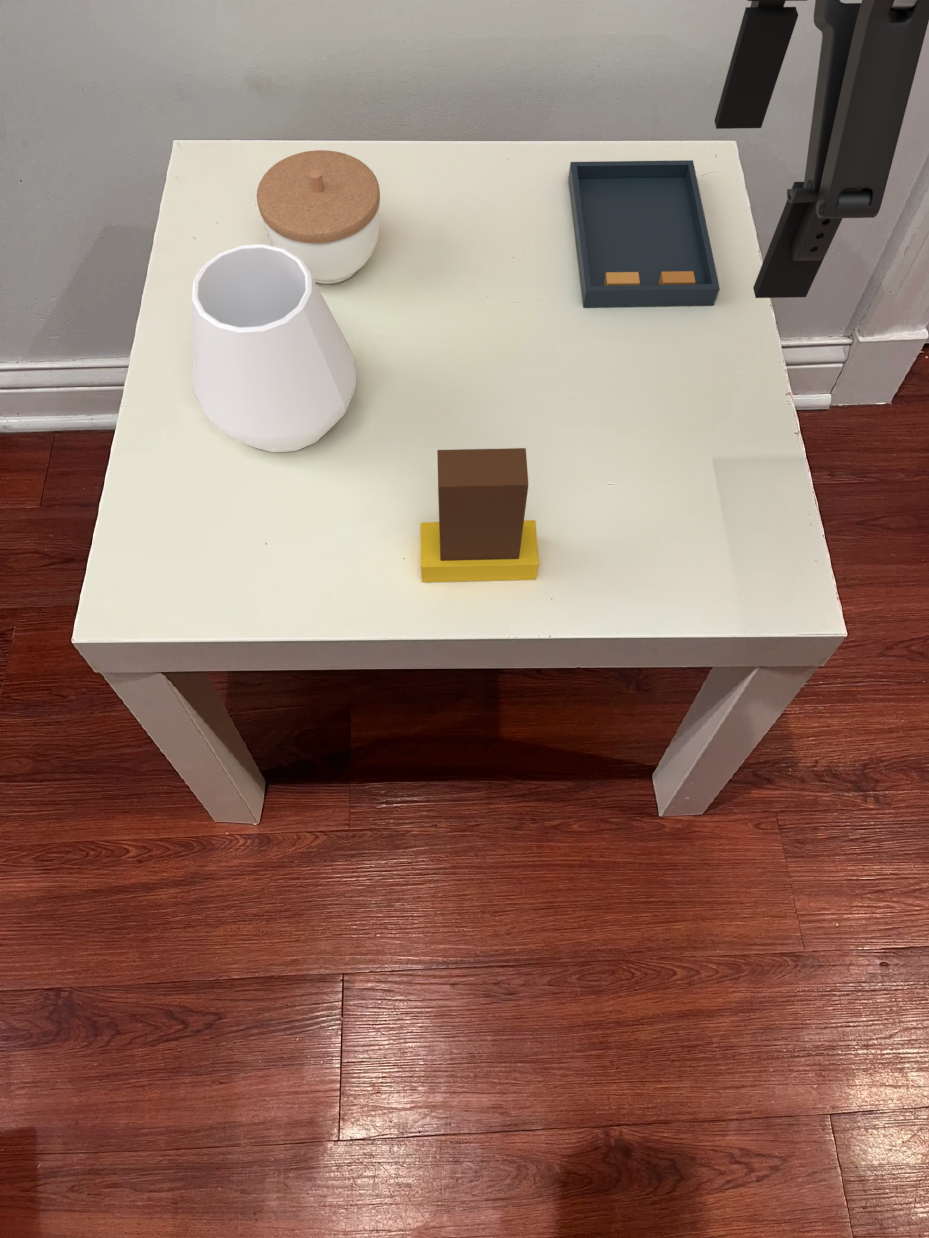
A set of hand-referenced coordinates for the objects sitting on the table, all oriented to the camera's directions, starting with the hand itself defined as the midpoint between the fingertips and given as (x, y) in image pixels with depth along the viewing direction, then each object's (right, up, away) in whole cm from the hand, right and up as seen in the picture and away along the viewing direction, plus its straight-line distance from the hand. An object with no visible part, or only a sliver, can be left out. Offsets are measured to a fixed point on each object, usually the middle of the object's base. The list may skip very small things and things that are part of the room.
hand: (757, 204), depth 51 cm
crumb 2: (+3, +7, +32) cm, 33 cm away
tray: (0, +13, +36) cm, 38 cm away
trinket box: (-29, +10, +35) cm, 47 cm away
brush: (-16, -19, +20) cm, 32 cm away
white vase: (-32, -5, +27) cm, 42 cm away
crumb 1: (-2, +7, +32) cm, 33 cm away
